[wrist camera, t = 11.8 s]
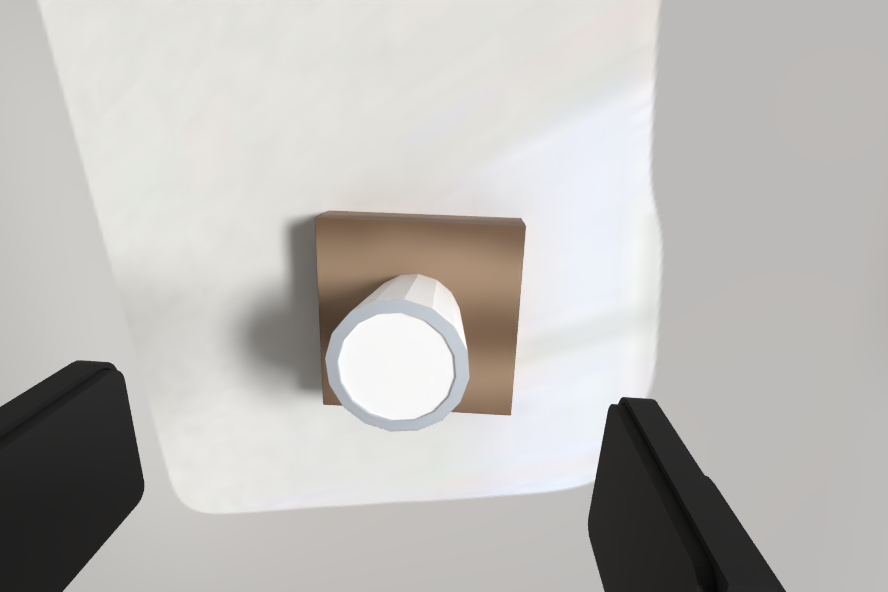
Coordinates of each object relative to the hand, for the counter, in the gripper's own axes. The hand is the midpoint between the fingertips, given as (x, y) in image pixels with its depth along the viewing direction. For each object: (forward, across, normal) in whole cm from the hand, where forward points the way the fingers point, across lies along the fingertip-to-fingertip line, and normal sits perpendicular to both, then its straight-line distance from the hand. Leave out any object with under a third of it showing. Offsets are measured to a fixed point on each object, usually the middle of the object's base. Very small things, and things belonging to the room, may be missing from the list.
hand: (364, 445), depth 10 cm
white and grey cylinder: (+20, +1, +6) cm, 21 cm away
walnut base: (+23, +1, +6) cm, 23 cm away
